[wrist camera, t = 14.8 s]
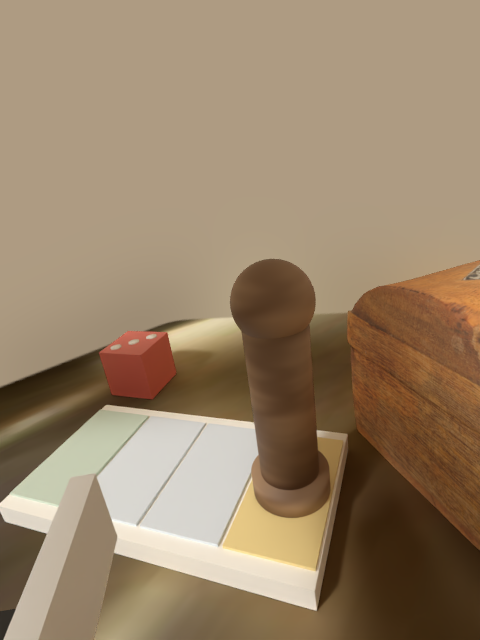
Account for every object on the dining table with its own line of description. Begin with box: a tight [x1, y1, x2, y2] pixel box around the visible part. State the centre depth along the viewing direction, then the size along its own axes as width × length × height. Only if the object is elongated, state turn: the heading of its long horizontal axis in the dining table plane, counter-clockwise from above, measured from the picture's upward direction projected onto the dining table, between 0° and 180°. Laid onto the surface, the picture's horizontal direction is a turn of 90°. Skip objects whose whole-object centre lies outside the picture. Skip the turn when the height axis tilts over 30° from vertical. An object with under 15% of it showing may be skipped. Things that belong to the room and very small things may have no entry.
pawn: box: [230, 259, 330, 518], centre depth 23 cm, size 5×5×15 cm
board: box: [0, 405, 348, 611], centre depth 30 cm, size 22×12×2 cm, turn 69°
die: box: [99, 331, 176, 399], centre depth 43 cm, size 5×5×5 cm
